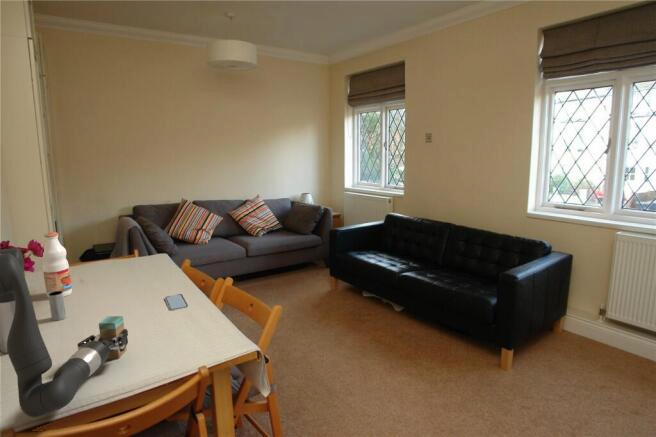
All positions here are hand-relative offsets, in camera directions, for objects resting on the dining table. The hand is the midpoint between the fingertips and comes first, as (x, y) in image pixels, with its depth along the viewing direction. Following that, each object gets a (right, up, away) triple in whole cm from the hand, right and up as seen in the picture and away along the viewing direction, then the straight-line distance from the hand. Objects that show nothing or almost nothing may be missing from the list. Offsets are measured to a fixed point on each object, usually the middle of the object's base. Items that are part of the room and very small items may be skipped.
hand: (116, 331), depth 129 cm
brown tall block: (0, -7, -1) cm, 7 cm away
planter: (-35, -2, +25) cm, 43 cm away
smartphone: (+4, +1, +39) cm, 39 cm away
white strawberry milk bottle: (-51, +3, +48) cm, 70 cm away
